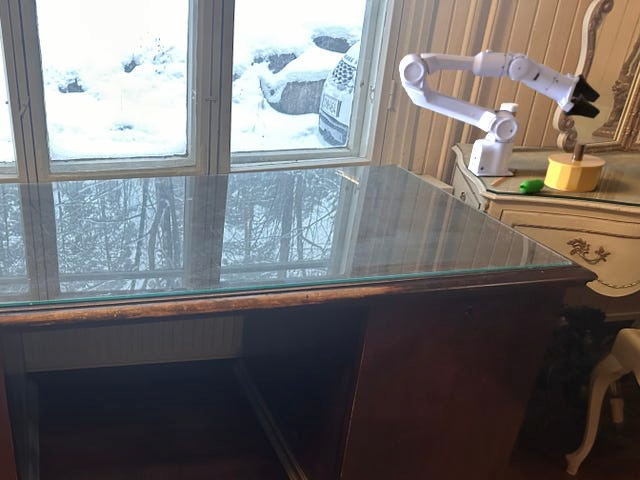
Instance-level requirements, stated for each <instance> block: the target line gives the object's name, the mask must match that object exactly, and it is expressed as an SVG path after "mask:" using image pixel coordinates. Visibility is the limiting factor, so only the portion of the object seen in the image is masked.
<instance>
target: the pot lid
mask: <svg viewBox="0 0 640 480" xmlns="http://www.w3.org/2000/svg"><path fill="white" fill-rule="evenodd" d="M587 145H588V143H586V142H583V141H582V142H581V141H579V142H576V143H575V146H574V149H573V152H560V153H553V154H551V155H549V156H548V161H549V162H552V163H554V164H557V165H560V166H565V167H571V168H582V169H592V168H600V167H602V168H603V167H605V165H606V161H605V159H603V158H601V157H598V156H594V155H591V154H590V155H589V154H586V148H587Z"/></svg>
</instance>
